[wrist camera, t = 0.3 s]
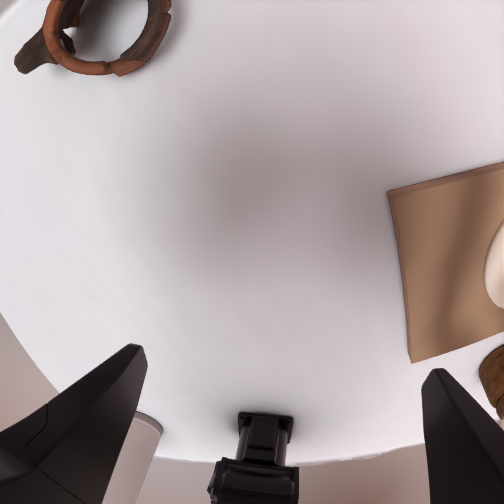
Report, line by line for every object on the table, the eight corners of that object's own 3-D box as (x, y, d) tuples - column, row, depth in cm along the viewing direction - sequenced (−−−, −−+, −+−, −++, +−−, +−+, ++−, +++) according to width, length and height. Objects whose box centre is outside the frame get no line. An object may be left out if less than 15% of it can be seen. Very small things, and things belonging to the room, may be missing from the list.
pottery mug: (146, -51, 14) (141, -75, 8) (189, 35, 21) (201, 46, 15) (20, 28, 14) (-27, 44, 9) (68, 105, 21) (40, 144, 16)
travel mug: (122, 403, 37) (66, 517, 20) (164, 421, 37) (118, 542, 20) (123, 422, 40) (76, 523, 22) (161, 438, 40) (121, 544, 23)
